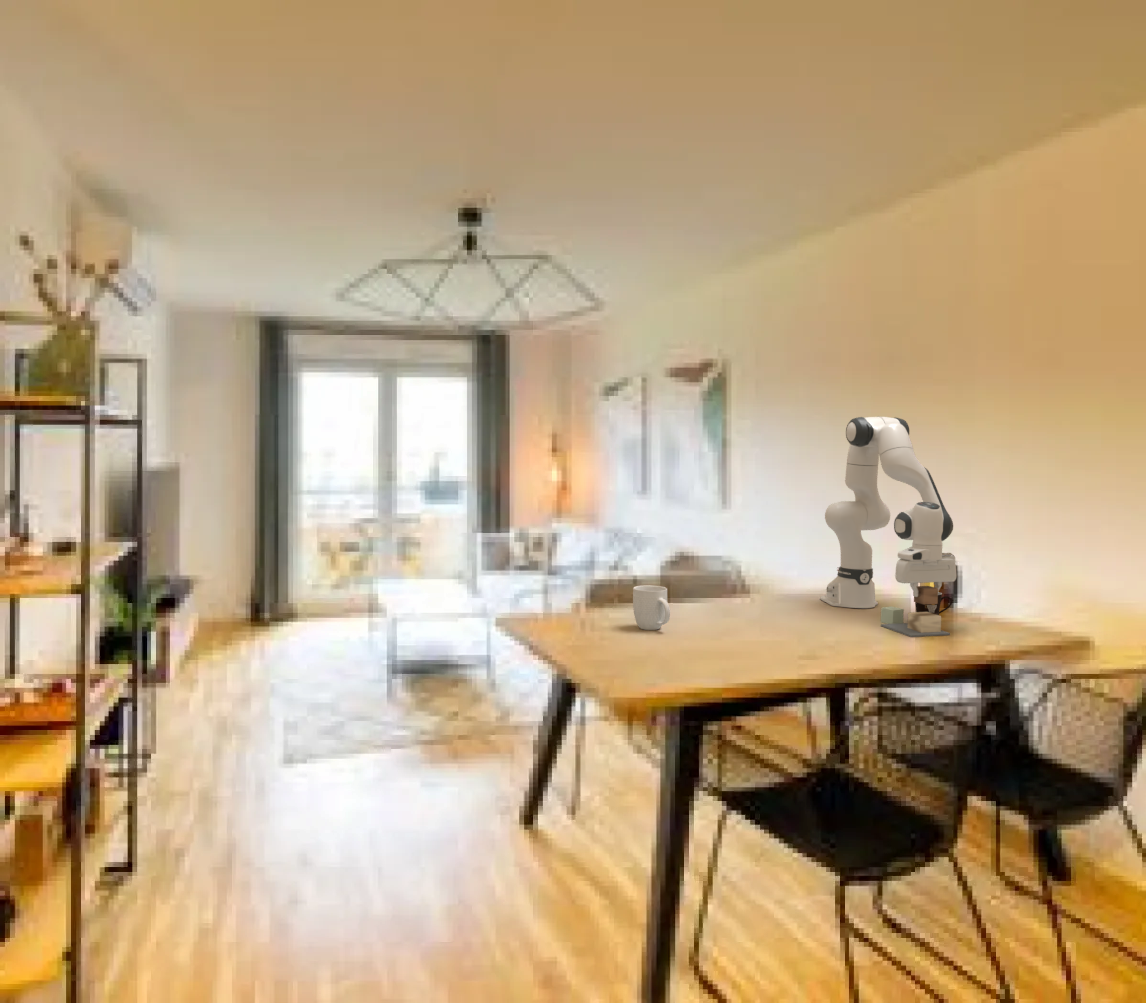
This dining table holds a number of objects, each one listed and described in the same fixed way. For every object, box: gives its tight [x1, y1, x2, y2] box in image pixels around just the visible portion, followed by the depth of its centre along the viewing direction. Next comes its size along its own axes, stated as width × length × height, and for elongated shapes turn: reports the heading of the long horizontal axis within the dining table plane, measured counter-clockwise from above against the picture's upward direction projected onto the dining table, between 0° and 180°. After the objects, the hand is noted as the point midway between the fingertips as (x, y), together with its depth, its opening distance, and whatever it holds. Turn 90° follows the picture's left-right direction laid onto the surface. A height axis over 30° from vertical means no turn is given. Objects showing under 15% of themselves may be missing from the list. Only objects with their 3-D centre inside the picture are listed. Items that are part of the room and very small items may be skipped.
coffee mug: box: [914, 591, 953, 616], centre depth 279 cm, size 12×9×10 cm
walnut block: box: [913, 585, 939, 605], centre depth 263 cm, size 5×5×5 cm
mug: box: [632, 584, 671, 631], centre depth 264 cm, size 15×11×13 cm
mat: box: [880, 622, 951, 638], centre depth 266 cm, size 16×14×1 cm
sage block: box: [880, 606, 905, 624], centre depth 277 cm, size 5×5×5 cm
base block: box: [907, 611, 942, 633], centre depth 264 cm, size 7×7×5 cm
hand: (925, 596), depth 263 cm, fingers closed on walnut block, 5 cm apart
